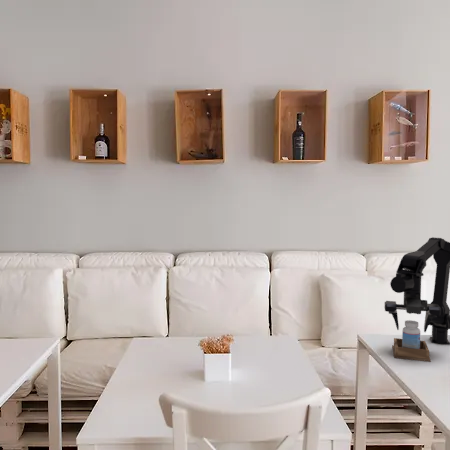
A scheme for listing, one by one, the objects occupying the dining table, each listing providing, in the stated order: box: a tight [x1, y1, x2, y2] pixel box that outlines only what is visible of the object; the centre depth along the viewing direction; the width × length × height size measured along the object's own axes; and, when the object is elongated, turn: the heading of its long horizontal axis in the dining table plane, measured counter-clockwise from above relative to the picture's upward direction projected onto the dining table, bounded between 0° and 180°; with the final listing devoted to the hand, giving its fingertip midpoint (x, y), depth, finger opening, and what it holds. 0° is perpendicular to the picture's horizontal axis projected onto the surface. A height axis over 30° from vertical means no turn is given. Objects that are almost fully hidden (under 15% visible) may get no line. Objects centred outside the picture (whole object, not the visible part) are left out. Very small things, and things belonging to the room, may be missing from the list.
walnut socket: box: [391, 337, 432, 363], centre depth 161 cm, size 12×12×4 cm
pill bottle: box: [401, 319, 421, 349], centre depth 161 cm, size 6×6×11 cm
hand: (411, 330), depth 161 cm, fingers open, 9 cm apart
